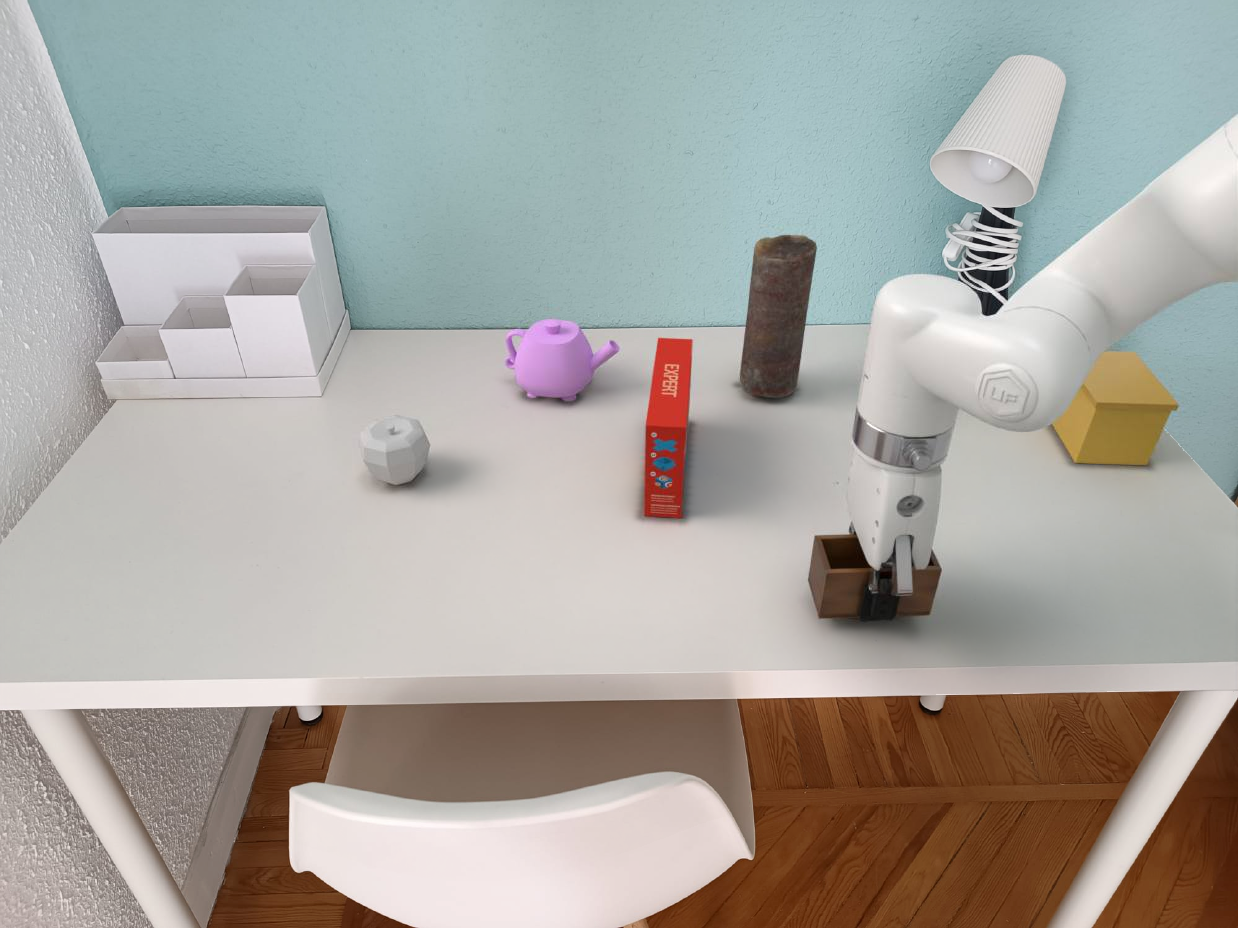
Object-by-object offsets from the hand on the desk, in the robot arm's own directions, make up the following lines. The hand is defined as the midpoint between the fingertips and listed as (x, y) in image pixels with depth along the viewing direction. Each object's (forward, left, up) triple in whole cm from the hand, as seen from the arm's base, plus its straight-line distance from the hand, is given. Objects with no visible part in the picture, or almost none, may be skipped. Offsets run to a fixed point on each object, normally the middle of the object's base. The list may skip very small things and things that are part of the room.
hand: (868, 593), depth 80 cm
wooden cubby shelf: (0, 0, 0) cm, 0 cm away
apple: (+51, +7, -2) cm, 52 cm away
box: (-14, -41, -2) cm, 44 cm away
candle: (+23, -31, -2) cm, 39 cm away
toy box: (+26, -10, -2) cm, 28 cm away
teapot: (+46, -18, -2) cm, 50 cm away
